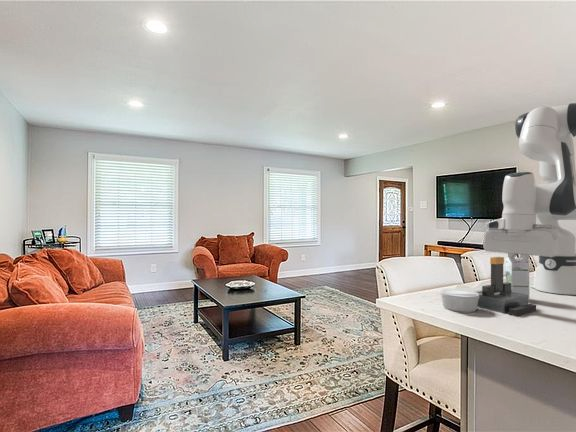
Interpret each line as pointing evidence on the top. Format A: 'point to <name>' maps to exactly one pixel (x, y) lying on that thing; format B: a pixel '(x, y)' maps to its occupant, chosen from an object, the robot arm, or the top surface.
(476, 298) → the ramekin
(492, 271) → the lever
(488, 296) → the stepped grey base plate
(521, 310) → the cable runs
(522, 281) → the syrup box
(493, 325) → the top surface
